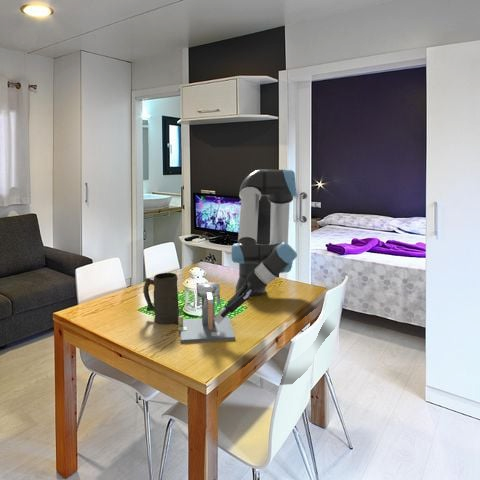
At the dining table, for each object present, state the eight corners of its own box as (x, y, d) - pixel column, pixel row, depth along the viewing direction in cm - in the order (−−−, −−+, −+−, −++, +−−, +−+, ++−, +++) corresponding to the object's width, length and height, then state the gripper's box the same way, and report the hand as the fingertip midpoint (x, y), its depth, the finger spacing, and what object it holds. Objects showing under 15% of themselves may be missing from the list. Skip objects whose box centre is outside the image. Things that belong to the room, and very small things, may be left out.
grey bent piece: (196, 312, 169) (196, 282, 167) (218, 311, 170) (218, 281, 168) (198, 329, 152) (198, 297, 149) (222, 328, 153) (222, 296, 150)
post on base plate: (229, 319, 173) (229, 289, 171) (235, 339, 154) (235, 306, 151) (178, 322, 170) (178, 291, 168) (178, 343, 151) (177, 308, 148)
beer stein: (183, 315, 178) (179, 271, 175) (179, 324, 168) (174, 278, 164) (149, 316, 179) (144, 273, 175) (142, 326, 169) (137, 280, 165)
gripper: (269, 289, 144) (222, 334, 148) (267, 279, 157) (224, 320, 161) (253, 275, 143) (206, 320, 147) (253, 265, 157) (210, 307, 160)
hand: (216, 320), depth 154 cm, fingers closed
